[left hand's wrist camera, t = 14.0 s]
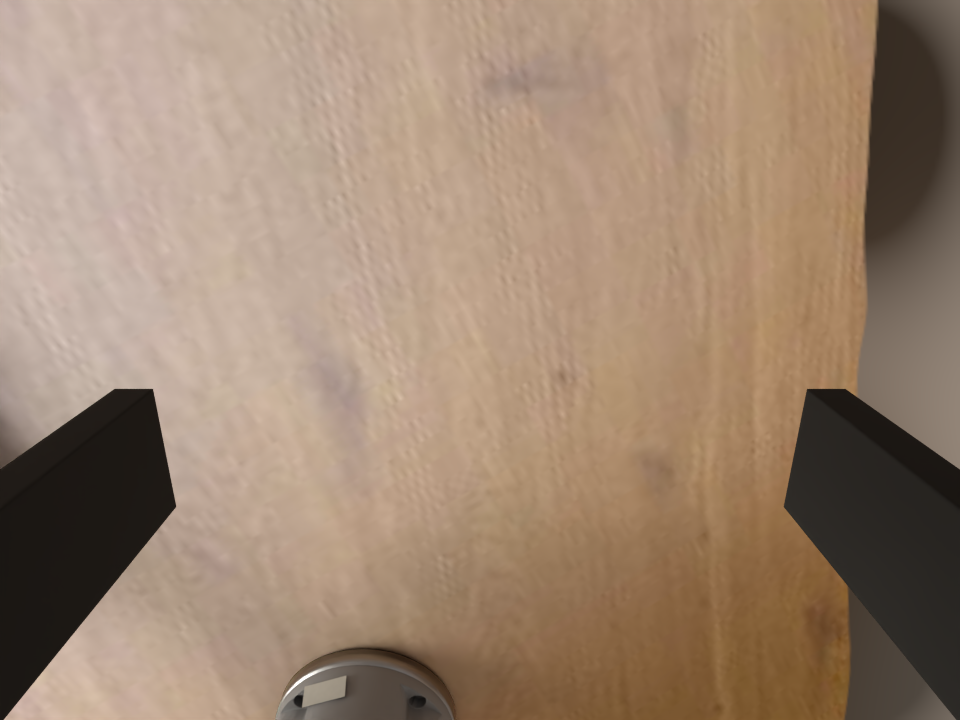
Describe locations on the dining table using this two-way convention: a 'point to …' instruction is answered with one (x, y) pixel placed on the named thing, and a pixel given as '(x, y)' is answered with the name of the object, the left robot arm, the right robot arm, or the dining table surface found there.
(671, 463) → the dining table surface
